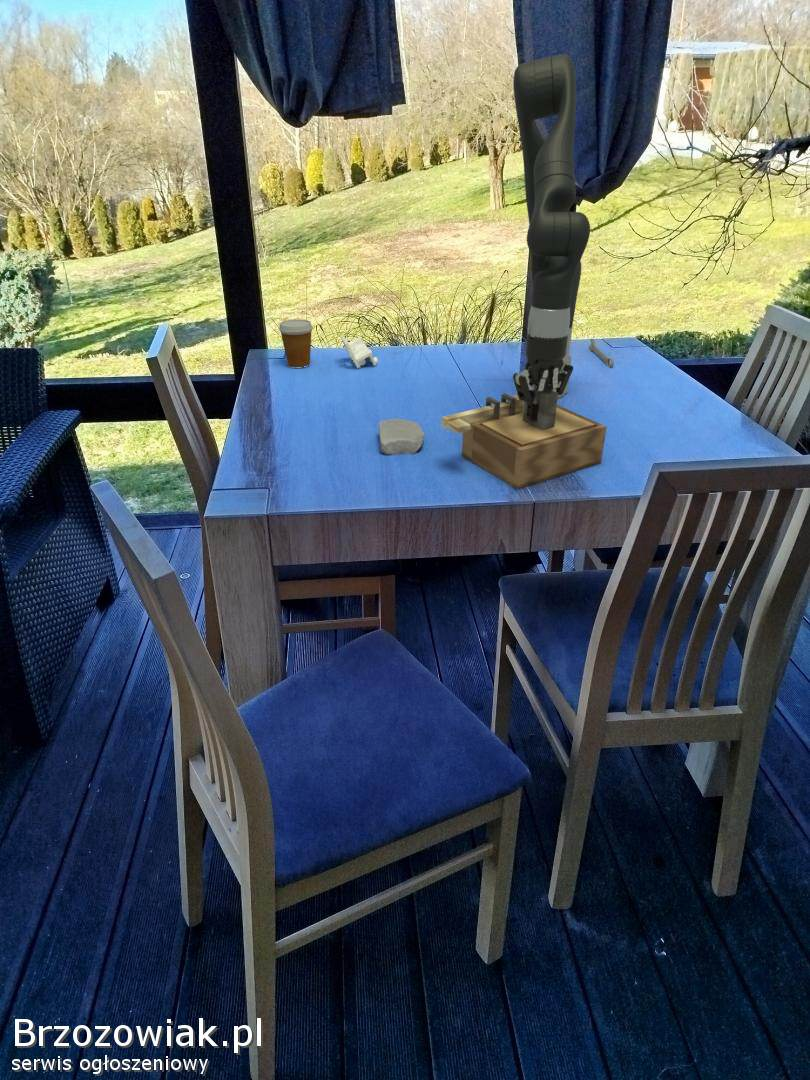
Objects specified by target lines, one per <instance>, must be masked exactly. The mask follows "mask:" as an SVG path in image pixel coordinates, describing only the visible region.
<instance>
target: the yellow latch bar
mask: <svg viewBox="0 0 810 1080" xmlns="http://www.w3.org/2000/svg"><path fill="white" fill-rule="evenodd" d="M511 396H512V397H514V398H516V402H515V413H519V412H523V405H524V401H523V400H520V399H519V397H518V394H517V395H516V394H514V395H511ZM494 408H495V405H494V404H491V405H490V406H486V405H485V406H483V407H478V408H474V409H471V410H465V411H461V412H457V413H453V414H449V415H445V416H444V415H443V416H441V427H442V428H443V429H445V430H450V431H452V432H453V433H455V434H458V435H459V434H463V432H467V431H471V425H470V424H471V423H475V422H479V421H483V420H487V419H491V418H494ZM509 410H510V401H509V400H506V402H503V403H501V402H500V414H499V416H503V415H507V414H509Z"/></svg>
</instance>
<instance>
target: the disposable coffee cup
mask: <svg viewBox="0 0 810 1080" xmlns="http://www.w3.org/2000/svg"><path fill="white" fill-rule="evenodd" d="M313 329H314V326H313V325H312V322H311V321H310V320H307V319H301V318H297V319H286V320H283V321H280V323H279V327H278V330H279V333H280V335H281V340H282V344H283V348H284V353H285V358H286V362H287V367H289V366H290V367H304V366H307V365H309V364H310V365H311V350H312V349H311V348H312V347H311V346H312V333H313V332H312V331H313ZM290 367H289V368H290Z"/></svg>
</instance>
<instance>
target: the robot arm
mask: <svg viewBox="0 0 810 1080" xmlns="http://www.w3.org/2000/svg"><path fill="white" fill-rule="evenodd" d="M575 70H576V69H575V65H574V62H573V59H572V57H570V55H569V54H564V53H563V54H556V55H551V56H547V57H543V58H539V59H535V60H529V61H527V62H523V63H520V64H519V65H517V67H516V68H515V70H514V74H513V83H512V84H513V87H512V88H513V97H514V106H515V111H516V118H517V125H518V131H519V137H520V144H521V150H522V158H523V159H522V160H523V174H524V191H525V192H524V193H525V200H526V201H525V202H526V208H527V209H526V210H527V216H528V227H527V228H528V229H527V234H526V245H527V247H528V250H529V251H530V255H531V256H530V258H531V261H530V262H531V263H530V264H531V265H530V267H531V268H530V269H531V284H532V285H531V286H532V291H531V302H530V303H531V305H530V310H529V313H528V314H529V315H528V320H527V321H528V322H527V330H526V331H527V332H526V341H525V342H526V343H525V355H526V358H527V361H526V364H525V366H524V369H523V370H522V371H521V372H520V373H517V372H516V373H513V375H512V379H513V383H514V387H515V389H516V393H517V396H518V397H519V399H520V400H523V401H525V402H527V411H526V417H527V419H528V420H530V421H532V422H536V421H537V415H538V405H539V404H537V403H538V401H539V397H540V393H542V392H543V388H548V389H549V390H551V391H555V392H557V393H558V399H559V398H562V397H563V396H564V395H565V394H567V393H568V390H569V389H568V387H569V382H570V381H569V380H570V379H571V375H572V372H573V371H574V366H573V365H572V356H571V355H570V351H571V342H572V341H571V340H572V333H573V325H574V319H575V318H574V317H575V313H576V312H575V311H576V304H577V299H578V298H577V297H578V294H579V288H580V282H581V276H582V262H581V260H582V258H583V255H584V254H585V250H586V248H587V245H588V242H589V240H590V235H591V223H590V221H589V218H588V217H587V215H586V214H585V213H582V212H580V211H570V210H571V207H573V205H574V203H575V200H576V196H577V195H576V179H575V178H576V177H575V166H574V164H575V163H574V143H575V133H576V113H577V110H576V109H577V108H576V107H577V83H576V82H577V81H576V71H575ZM554 116H557V117H556V120H555V122H554V125H553V126H552V128H551V130H550V131H549V134H547V137H546V138H545V139H544V138H543V136H542V133H541V132H540V130H539V128H538V125H537V121H536V120H539V119H544V118H545V119H546V118H549V117H554ZM534 385H537V387H536V386H534ZM533 391H534V396H533Z"/></svg>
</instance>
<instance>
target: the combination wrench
mask: <svg viewBox="0 0 810 1080" xmlns="http://www.w3.org/2000/svg"><path fill="white" fill-rule="evenodd" d="M589 340H590V343H591V344H589V345H588V349H589V351H590V352H595V353H596V355H597V356H598V357H599V358H600V359H601V360H602V361H603V362H604V363H605V365H606V367H608V366H609V367H612V368H613V367H614V365H615V361H614V358H613V357H608V356H607V355H606V354H605V353H604V352H603V351H602V350H601V349H599V347H597V346H596V343H595V341H596V340H595V339H594V338H590V339H589ZM609 367H608V368H609Z"/></svg>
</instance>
